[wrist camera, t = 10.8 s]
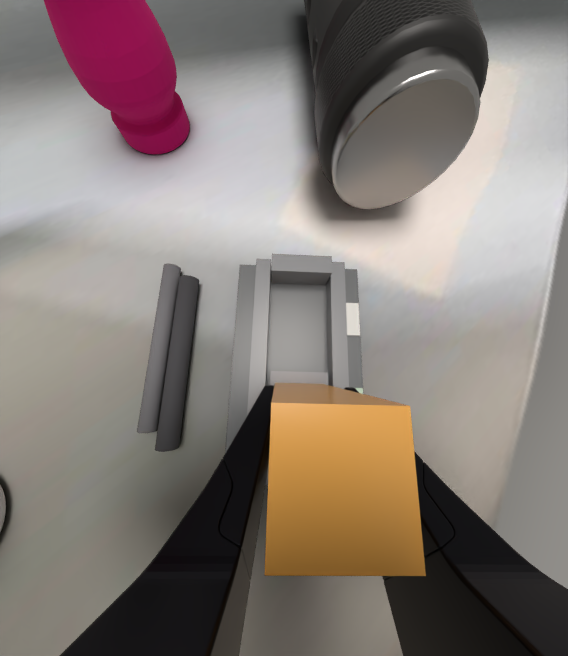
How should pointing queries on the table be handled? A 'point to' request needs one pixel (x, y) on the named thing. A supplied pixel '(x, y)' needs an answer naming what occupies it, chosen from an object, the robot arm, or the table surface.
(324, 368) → the grey holder tray
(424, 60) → the muzzle brake
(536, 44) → the table surface
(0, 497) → the supplement bottle
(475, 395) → the table surface
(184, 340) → the cord bundle
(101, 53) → the pepper mill
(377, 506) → the block
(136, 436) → the table surface
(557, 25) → the table surface
